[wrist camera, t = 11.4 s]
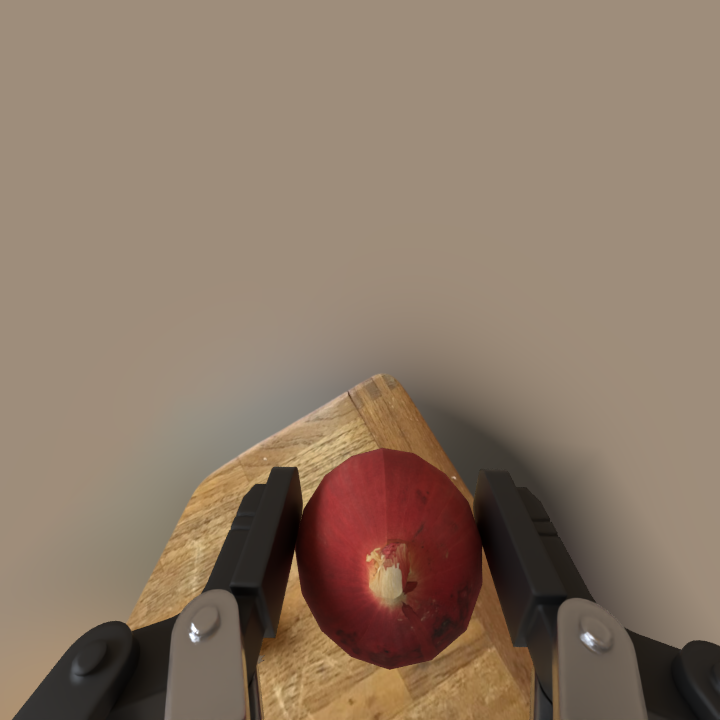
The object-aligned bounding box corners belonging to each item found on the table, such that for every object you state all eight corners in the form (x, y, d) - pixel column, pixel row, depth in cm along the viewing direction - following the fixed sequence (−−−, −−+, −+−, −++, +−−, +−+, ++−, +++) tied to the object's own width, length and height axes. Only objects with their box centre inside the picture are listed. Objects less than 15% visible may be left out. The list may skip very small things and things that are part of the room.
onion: (481, 543, 14) (612, 638, 6) (369, 636, 13) (363, 881, 5) (396, 428, 15) (418, 392, 8) (292, 505, 15) (203, 549, 7)
